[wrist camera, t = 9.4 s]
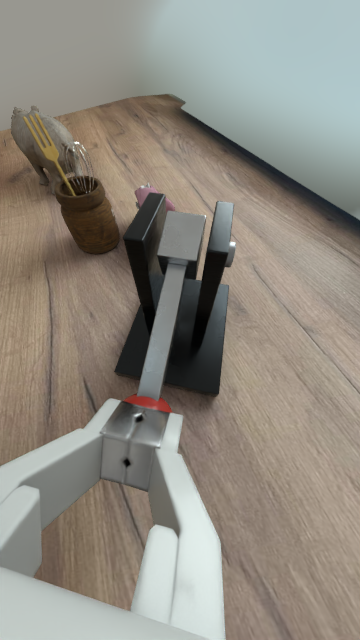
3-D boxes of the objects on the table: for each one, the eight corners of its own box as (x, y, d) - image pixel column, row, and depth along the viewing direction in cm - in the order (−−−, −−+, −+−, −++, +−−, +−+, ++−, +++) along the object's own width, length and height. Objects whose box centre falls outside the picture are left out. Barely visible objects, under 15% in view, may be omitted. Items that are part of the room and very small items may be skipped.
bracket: (216, 397, 16) (280, 337, 6) (117, 375, 17) (35, 291, 7) (226, 291, 23) (268, 176, 12) (153, 279, 23) (136, 161, 13)
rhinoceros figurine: (43, 197, 28) (-29, 45, 21) (49, 215, 39) (3, 119, 33) (96, 189, 31) (46, 53, 24) (88, 208, 42) (52, 119, 36)
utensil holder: (99, 261, 25) (46, 139, 14) (67, 244, 26) (-2, 122, 16) (129, 238, 27) (102, 120, 17) (98, 223, 29) (55, 107, 19)
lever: (170, 455, 10) (162, 496, 7) (115, 442, 11) (84, 475, 8) (209, 247, 13) (216, 210, 10) (164, 240, 13) (157, 202, 10)
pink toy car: (152, 224, 32) (124, 184, 26) (176, 209, 30) (152, 163, 25) (164, 265, 27) (133, 227, 21) (193, 249, 26) (169, 203, 20)
